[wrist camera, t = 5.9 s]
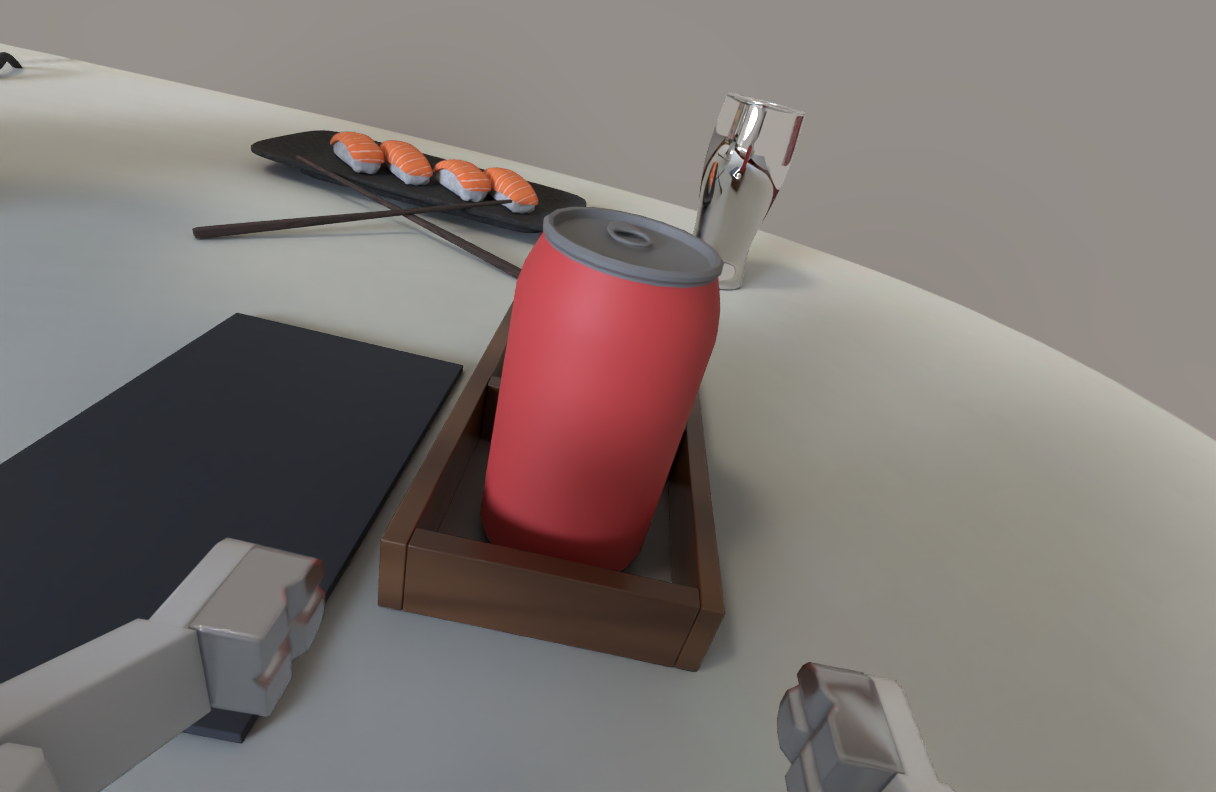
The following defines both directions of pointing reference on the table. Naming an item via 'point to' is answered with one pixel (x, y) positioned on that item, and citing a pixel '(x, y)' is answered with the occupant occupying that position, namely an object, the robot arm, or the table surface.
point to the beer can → (597, 383)
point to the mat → (204, 480)
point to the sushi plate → (408, 187)
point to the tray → (546, 586)
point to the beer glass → (743, 177)
